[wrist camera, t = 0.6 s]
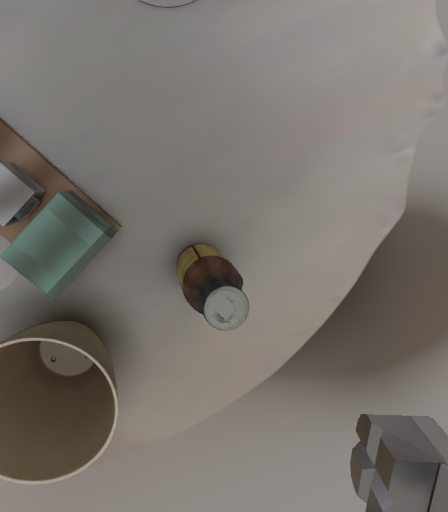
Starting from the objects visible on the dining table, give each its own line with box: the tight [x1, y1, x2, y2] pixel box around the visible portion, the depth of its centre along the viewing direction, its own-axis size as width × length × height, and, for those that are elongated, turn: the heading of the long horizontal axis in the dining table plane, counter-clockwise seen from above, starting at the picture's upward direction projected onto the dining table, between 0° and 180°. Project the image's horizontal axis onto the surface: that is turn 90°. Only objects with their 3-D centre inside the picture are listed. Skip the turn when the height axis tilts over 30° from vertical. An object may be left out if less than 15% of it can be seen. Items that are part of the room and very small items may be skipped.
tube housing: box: [0, 118, 122, 300], centre depth 47 cm, size 23×10×8 cm, turn 46°
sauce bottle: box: [177, 244, 249, 330], centre depth 46 cm, size 6×6×20 cm
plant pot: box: [0, 321, 118, 484], centre depth 48 cm, size 15×15×16 cm
